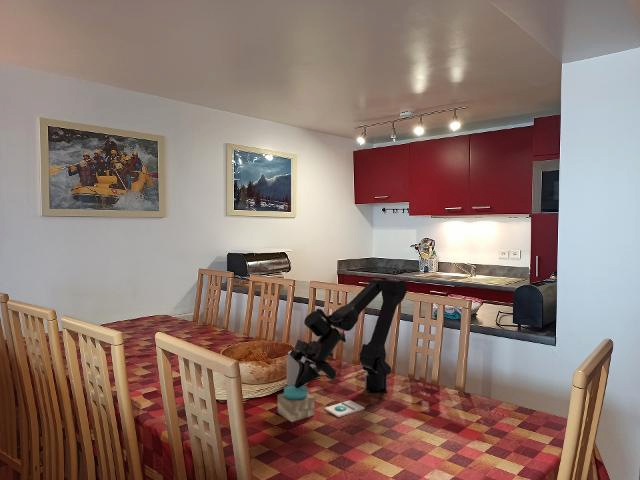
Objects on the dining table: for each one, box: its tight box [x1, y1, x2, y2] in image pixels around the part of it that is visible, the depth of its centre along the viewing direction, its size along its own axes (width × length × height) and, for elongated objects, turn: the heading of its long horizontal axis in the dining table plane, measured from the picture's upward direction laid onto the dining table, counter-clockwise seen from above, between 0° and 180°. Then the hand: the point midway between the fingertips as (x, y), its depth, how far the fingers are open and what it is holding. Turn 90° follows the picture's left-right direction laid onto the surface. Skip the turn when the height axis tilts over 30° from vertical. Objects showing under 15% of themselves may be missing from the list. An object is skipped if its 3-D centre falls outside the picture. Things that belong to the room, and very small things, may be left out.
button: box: [283, 384, 308, 399], centre depth 138 cm, size 7×7×5 cm
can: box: [286, 350, 309, 387], centre depth 162 cm, size 8×8×12 cm
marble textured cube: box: [277, 392, 315, 423], centre depth 138 cm, size 8×8×6 cm
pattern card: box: [324, 399, 365, 418], centre depth 141 cm, size 10×7×1 cm
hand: (295, 387), depth 138 cm, fingers closed, pressing on button
